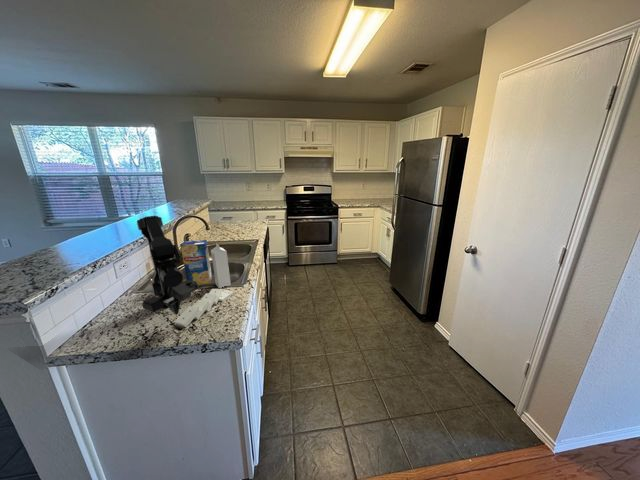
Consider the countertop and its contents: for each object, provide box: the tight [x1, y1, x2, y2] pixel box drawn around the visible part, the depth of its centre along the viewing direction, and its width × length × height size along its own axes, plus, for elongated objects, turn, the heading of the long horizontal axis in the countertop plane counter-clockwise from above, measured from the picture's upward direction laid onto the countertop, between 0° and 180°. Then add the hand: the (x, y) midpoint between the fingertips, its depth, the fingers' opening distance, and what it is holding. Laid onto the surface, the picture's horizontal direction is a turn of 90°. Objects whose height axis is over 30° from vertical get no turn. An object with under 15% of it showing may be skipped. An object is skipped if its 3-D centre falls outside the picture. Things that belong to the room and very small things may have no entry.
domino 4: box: [209, 288, 224, 305], centre depth 117 cm, size 5×2×8 cm
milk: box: [210, 243, 231, 289], centre depth 129 cm, size 6×6×22 cm
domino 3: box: [201, 292, 217, 312], centre depth 112 cm, size 5×2×8 cm
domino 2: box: [192, 299, 210, 320], centre depth 107 cm, size 5×2×8 cm
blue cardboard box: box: [180, 239, 213, 286], centre depth 133 cm, size 7×11×22 cm, turn 104°
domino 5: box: [218, 289, 235, 303], centre depth 121 cm, size 5×2×8 cm
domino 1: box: [174, 305, 200, 328], centre depth 102 cm, size 5×2×8 cm
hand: (176, 314), depth 97 cm, fingers closed
